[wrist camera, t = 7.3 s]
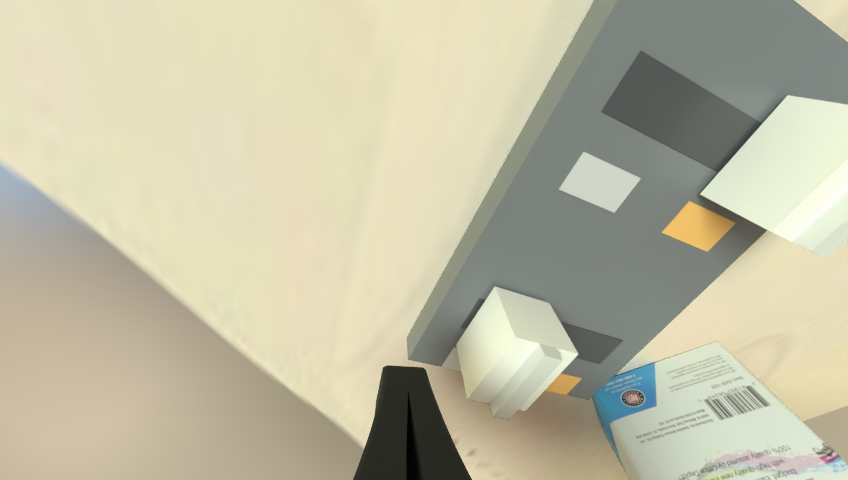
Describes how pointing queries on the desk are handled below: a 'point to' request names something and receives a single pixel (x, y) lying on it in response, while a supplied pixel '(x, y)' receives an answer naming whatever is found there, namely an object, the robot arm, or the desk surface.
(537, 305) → the switch tab
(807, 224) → the switch tab
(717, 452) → the ink box
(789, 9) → the switch board
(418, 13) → the desk surface
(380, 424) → the robot arm
